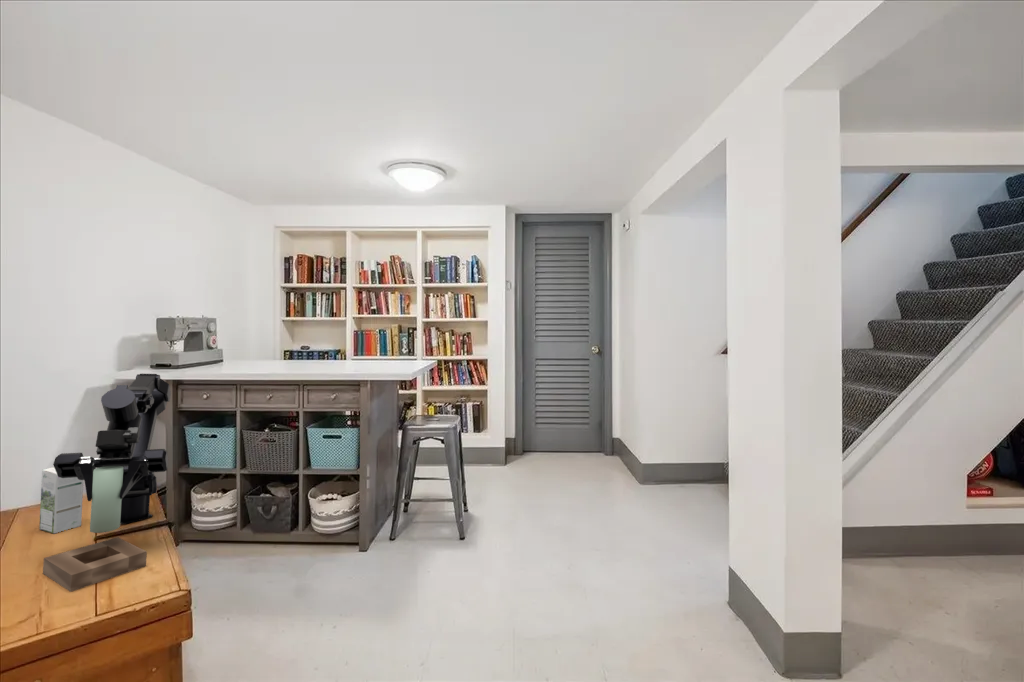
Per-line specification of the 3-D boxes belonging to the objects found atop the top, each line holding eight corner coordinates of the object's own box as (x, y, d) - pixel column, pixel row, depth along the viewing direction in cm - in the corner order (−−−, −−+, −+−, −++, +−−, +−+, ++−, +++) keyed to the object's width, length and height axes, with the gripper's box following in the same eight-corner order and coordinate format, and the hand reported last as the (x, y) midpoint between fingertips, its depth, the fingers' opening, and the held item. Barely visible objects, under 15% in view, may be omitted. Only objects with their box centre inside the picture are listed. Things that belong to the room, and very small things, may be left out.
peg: (113, 522, 102) (116, 464, 102) (124, 527, 100) (128, 468, 100) (85, 529, 98) (88, 469, 98) (96, 534, 96) (100, 473, 96)
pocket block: (116, 553, 102) (117, 537, 102) (145, 568, 97) (146, 551, 97) (42, 575, 92) (43, 558, 92) (70, 594, 86) (71, 575, 86)
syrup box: (82, 525, 115) (86, 466, 115) (52, 534, 109) (56, 472, 109) (67, 521, 117) (71, 463, 117) (37, 530, 111) (41, 468, 111)
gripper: (59, 415, 98) (34, 483, 88) (169, 413, 107) (157, 475, 97) (70, 444, 105) (47, 511, 95) (172, 440, 114) (161, 501, 104)
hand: (105, 499), depth 98 cm, fingers closed on peg, 5 cm apart
